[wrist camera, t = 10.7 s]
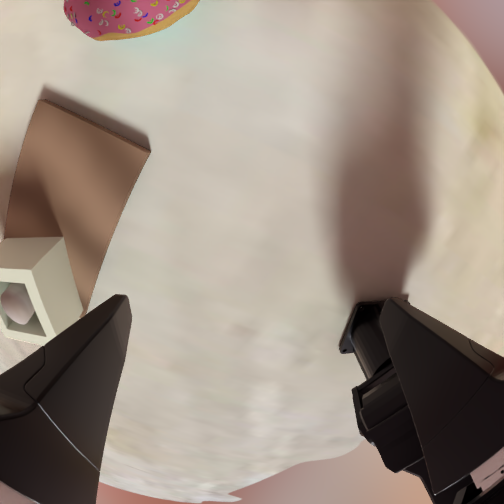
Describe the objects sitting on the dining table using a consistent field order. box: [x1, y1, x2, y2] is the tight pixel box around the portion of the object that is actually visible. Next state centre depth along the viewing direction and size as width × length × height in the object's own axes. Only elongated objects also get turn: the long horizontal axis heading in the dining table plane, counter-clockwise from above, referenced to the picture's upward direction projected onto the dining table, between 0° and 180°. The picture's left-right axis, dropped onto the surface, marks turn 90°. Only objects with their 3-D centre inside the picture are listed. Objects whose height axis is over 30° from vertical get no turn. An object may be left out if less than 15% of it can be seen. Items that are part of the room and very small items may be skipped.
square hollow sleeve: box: [0, 237, 83, 346], centre depth 17 cm, size 7×7×5 cm
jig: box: [0, 99, 151, 324], centre depth 16 cm, size 16×10×6 cm, turn 146°
